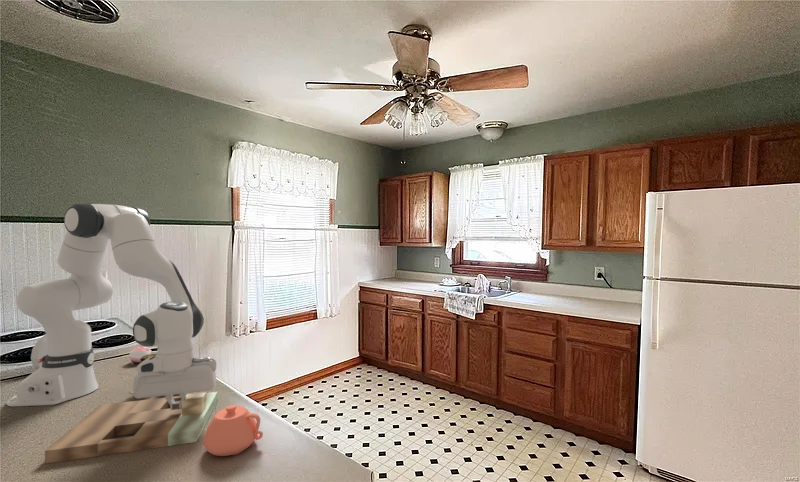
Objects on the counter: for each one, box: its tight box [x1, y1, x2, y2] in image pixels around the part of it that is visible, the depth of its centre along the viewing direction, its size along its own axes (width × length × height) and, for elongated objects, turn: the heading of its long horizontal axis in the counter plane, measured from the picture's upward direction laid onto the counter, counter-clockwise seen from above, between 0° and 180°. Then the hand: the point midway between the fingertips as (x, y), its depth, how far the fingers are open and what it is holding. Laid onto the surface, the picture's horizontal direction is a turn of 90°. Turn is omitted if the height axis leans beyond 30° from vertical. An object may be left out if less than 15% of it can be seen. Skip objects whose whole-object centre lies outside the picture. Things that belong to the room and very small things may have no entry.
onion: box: [128, 345, 152, 366], centre depth 153 cm, size 8×8×7 cm
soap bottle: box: [30, 334, 48, 370], centre depth 148 cm, size 16×5×20 cm, turn 158°
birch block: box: [182, 391, 207, 416], centre depth 104 cm, size 5×5×4 cm
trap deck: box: [44, 391, 219, 464], centre depth 101 cm, size 32×24×3 cm
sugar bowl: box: [203, 404, 264, 457], centre depth 91 cm, size 12×14×10 cm
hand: (176, 408), depth 102 cm, fingers closed
